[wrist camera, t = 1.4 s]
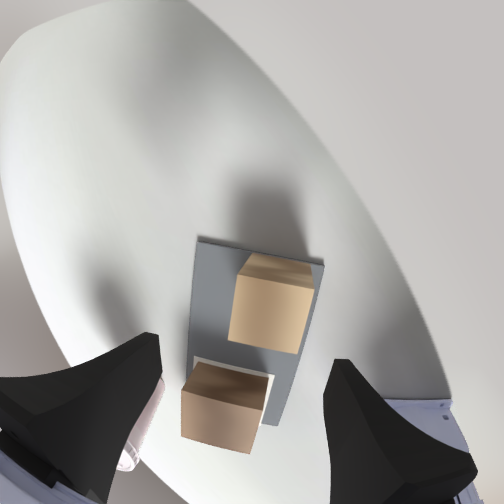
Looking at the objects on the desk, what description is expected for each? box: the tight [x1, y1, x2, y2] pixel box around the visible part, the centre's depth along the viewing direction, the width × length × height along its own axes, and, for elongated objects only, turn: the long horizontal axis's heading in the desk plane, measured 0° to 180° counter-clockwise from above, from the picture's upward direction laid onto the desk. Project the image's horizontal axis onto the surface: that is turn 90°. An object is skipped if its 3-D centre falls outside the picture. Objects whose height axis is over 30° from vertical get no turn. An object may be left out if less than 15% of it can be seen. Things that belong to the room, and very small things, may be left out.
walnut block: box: [181, 361, 269, 454], centre depth 20 cm, size 6×6×4 cm
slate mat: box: [186, 241, 325, 426], centre depth 21 cm, size 9×16×1 cm, turn 171°
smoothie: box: [116, 378, 165, 471], centre depth 17 cm, size 6×6×14 cm
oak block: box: [228, 253, 315, 354], centre depth 17 cm, size 4×4×5 cm
